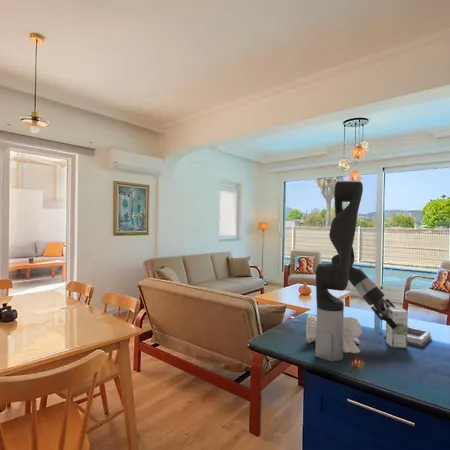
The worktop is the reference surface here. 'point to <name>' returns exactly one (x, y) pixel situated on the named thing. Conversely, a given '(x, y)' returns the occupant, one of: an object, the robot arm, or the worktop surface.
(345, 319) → the cherub figurine
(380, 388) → the worktop surface
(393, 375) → the worktop surface
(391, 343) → the syrup box
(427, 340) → the tray
